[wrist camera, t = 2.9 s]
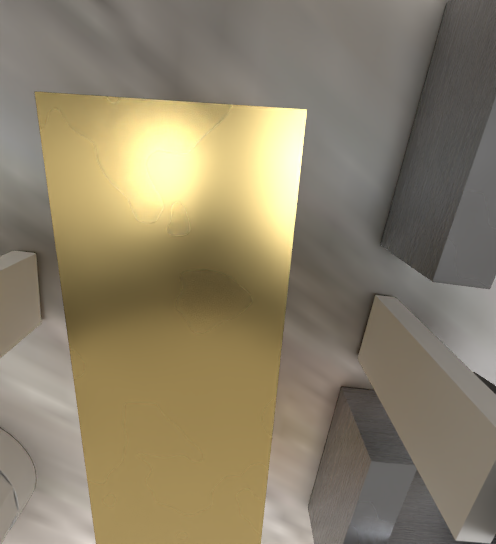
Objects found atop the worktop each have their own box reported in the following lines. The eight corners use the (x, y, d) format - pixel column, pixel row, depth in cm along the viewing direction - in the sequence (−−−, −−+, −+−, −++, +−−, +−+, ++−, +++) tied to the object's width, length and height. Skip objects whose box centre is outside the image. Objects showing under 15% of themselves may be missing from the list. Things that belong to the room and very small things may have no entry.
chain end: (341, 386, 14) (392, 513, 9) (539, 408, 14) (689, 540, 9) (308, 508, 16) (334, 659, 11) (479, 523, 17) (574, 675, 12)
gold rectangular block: (146, 122, 11) (34, 91, 5) (274, 130, 11) (306, 109, 5) (158, 425, 15) (103, 599, 9) (251, 429, 15) (254, 602, 9)
